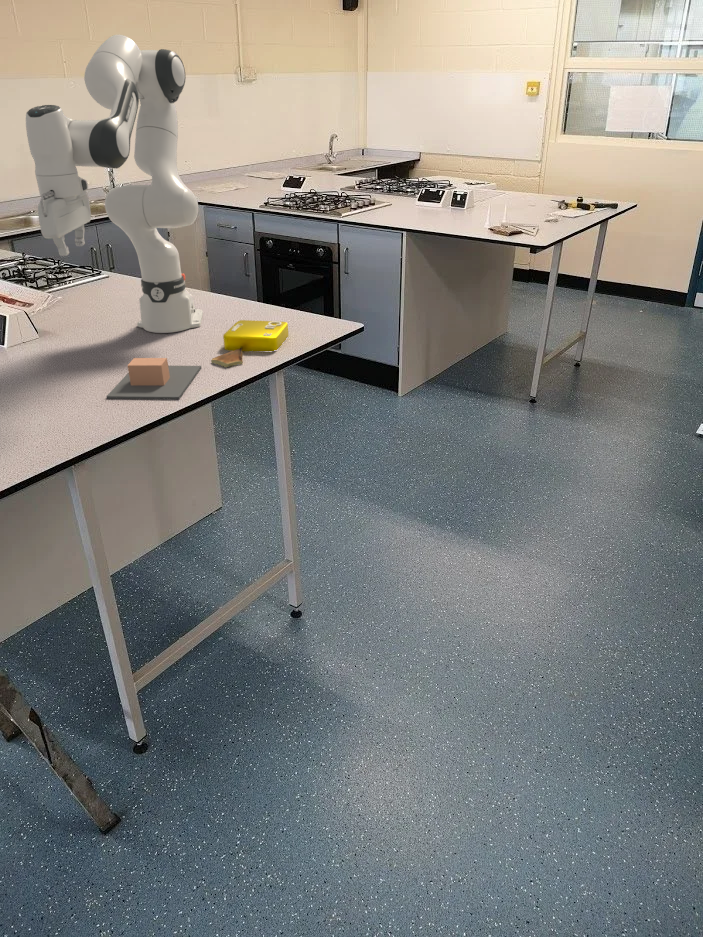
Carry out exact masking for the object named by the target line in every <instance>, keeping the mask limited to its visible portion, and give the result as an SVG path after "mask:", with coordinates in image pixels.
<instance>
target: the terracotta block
mask: <svg viewBox="0 0 703 937" xmlns="http://www.w3.org/2000/svg"><path fill="white" fill-rule="evenodd" d="M168 362H169V361H168V358H167V357H133V358H132V359H131V361H130V362H129V363H128V364H127V371H128V373H129V377H130V383H131V385H165V384H166V382H167V381H168V380H169V378H170V375H169V368H168V366H169V363H168Z"/></svg>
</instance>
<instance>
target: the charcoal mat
mask: <svg viewBox="0 0 703 937" xmlns="http://www.w3.org/2000/svg"><path fill="white" fill-rule="evenodd" d="M168 368H169V375H170V378H169V380H168V381H167V382H166V384H165V385H131V383H130V377H129V372H128V373H127V374H126V375H125V376H124V377H123V378H122V379H121V380H120V381H119V382H118V383H117V384H116V385H115V387H113V388H112V390H110V392H109V393H108V394H107V395H106V400H117V399H118V400H180V399H181V398H182V396H183V395H184V394H185V392H186V390H188V388H189V386H190V385H191V383H193V381H194V379H195V378H196V377H197V375H198V374H199V372H200V371H201V369H202V365H168Z"/></svg>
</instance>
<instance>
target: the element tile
mask: <svg viewBox="0 0 703 937" xmlns="http://www.w3.org/2000/svg"><path fill="white" fill-rule="evenodd" d="M288 336H290V335H289V323H288V322H287V321H279V320H278V321H275V320H274V321H273V320H252V319H251V320H248V319H247V320H246V319H243V320H242V319H240V320H238V321H236V322H235V323H234V324H233V325H232V326H231V327H230V328H229V329H228V330H226V331H225V333H224V334H223V336H222V337H223V338H222V339H223V346H224V350H226V351H229V352H231V351H234V350H237V349H240V348H242V352H249V351H274V350H277V349H278V348H279V347H280V346H281V345H282V343H283V342H284V341H285V340H286V338H287V337H288ZM288 338H289V337H288ZM286 341H287V340H286ZM286 341H285V342H286ZM285 342H284V343H285ZM282 346H283V345H282ZM282 346H281V347H282ZM281 347H280V348H281Z"/></svg>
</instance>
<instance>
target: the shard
mask: <svg viewBox="0 0 703 937" xmlns="http://www.w3.org/2000/svg"><path fill="white" fill-rule="evenodd" d="M243 362H244V361H243V351H242V348H240V349H237V350H234V351H229V352H225V353H223V354H220V355H217V356H215V357H213V358H211V364H213V363H215V364H214V365H217V364H218V366H220V365H221V367H223V366H224V367H223V368H225V367H226V368H228V366H229V367H233V365H234V366H238V365H237V364H242V365H243Z"/></svg>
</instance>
